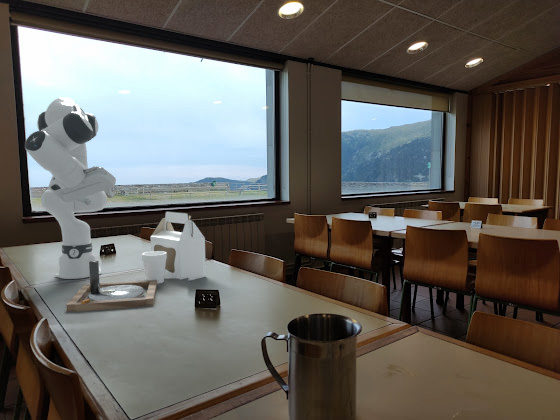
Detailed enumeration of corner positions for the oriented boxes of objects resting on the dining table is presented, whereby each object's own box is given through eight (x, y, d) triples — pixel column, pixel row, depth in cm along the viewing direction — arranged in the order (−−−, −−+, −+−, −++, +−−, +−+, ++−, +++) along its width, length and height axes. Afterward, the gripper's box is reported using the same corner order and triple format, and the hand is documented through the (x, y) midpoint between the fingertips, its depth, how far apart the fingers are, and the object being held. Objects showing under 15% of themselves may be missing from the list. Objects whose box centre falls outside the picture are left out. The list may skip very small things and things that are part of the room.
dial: (146, 289, 154) (145, 254, 153) (139, 303, 137) (138, 264, 136) (95, 291, 151) (94, 256, 150) (81, 306, 133) (80, 267, 132)
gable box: (206, 277, 179) (205, 212, 176) (180, 283, 169) (179, 215, 167) (176, 269, 193) (174, 210, 191) (151, 274, 183) (149, 212, 181)
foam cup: (160, 288, 160) (159, 255, 159) (138, 287, 162) (137, 255, 161) (171, 282, 169) (170, 251, 168) (150, 281, 171) (149, 250, 170)
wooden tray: (84, 293, 154) (84, 282, 153) (157, 288, 160) (156, 277, 159) (66, 316, 128) (65, 302, 128) (153, 309, 135) (153, 296, 134)
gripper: (101, 158, 132) (127, 185, 142) (49, 176, 137) (78, 201, 147) (97, 171, 128) (124, 198, 138) (44, 190, 133) (74, 214, 143)
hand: (100, 200), depth 143 cm, fingers open, 8 cm apart
